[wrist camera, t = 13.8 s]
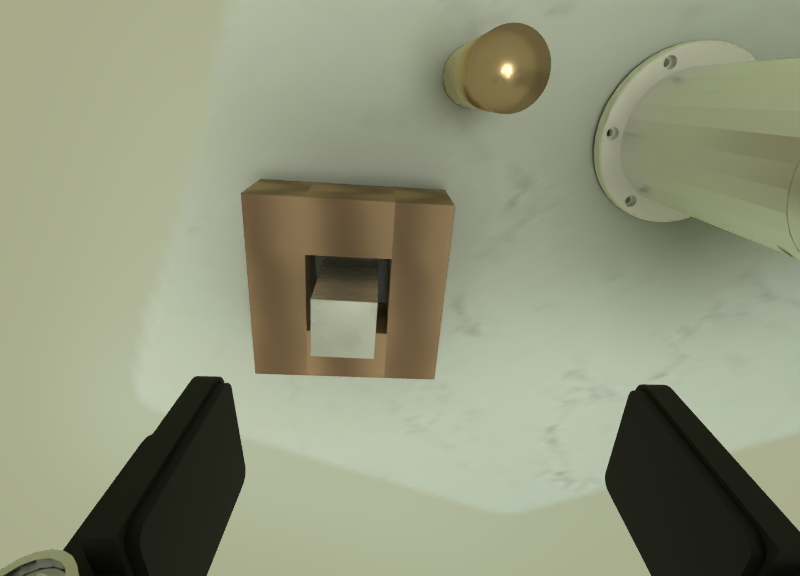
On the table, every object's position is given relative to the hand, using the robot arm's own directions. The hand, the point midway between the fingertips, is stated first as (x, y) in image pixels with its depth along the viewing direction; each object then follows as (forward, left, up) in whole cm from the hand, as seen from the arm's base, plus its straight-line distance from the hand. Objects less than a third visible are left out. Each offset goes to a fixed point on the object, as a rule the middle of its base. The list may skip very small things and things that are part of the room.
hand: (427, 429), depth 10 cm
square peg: (+3, +6, -26) cm, 27 cm away
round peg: (-5, -9, -26) cm, 27 cm away
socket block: (+3, +6, -26) cm, 27 cm away
